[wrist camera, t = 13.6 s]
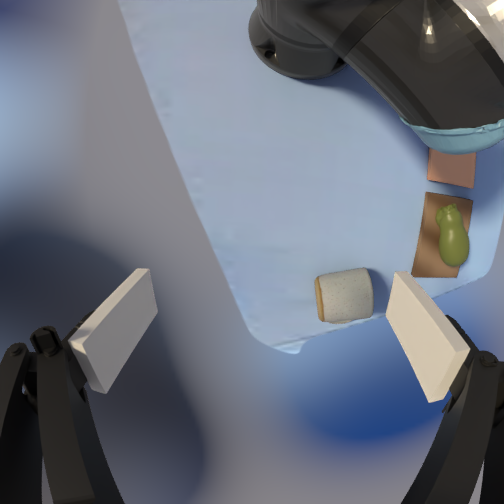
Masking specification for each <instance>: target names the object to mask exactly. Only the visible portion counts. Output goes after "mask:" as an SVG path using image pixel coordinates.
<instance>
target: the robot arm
mask: <svg viewBox="0 0 504 504" xmlns="http://www.w3.org/2000/svg"><path fill="white" fill-rule="evenodd" d="M248 29H249V37H250V41H251V45H252V47H253V49H254V51H255V53H256V54H257V56H258V57H259V58H260V59H261V60H262V61H263V62H264V63H265V64H266V65H267V66H268V67H270V68H271V69H273V70H275V71H276V72H278V73H280V74H283V75H286V76H289V77H292V78H297V79H306V80H313V79H321V78H325V77H328V76H331V75H333V74H335V73H337V72H339V71H340V70H342V69H343V68H344V67H345V66H346V65H347V64H349V65H350V66H351V67H352V68H353V69H354V70H355V71H356V72H357V73H358V74H360V75H361V76H362V77H363V78H364V79H365V80H366V81H367V82H368V83H369V84H370V85H371V86H372V87H373V88H374V89H375V90H376V91H377V92H378V93H379V94H380V95H381V96H382V97H383V98H384V99H385V100H386V101H387V102H388V104H389V105H390V106H391V107H392V108H393V109H394V110H395V111H396V112H397V113H398V115H399V118H400V119H401V120H402V122H403V123H405V124H406V125H407V126H409V127H411V129H412V130H413V131H414V132H415V133H416V134H417V135H418V136H419V138H420V139H421V140H422V141H423V142H424V143H425V144H426V145H427V146H428V147H430V148H431V149H434V150H437V151H439V152H441V153H444V154H451V155H463V154H470V153H474V152H478V151H482V150H484V149H487V148H489V147H492V146H493V145H495V144H497V143H499V142H500V141H501V140H503V139H504V0H257V7H256V8H255V10H254V11H253V13H252V15H251V18H250V21H249V28H248ZM157 312H158V310H157V306H156V301H155V296H154V291H153V286H152V281H151V276H150V270H149V269H136V270H135V271H134V272H133V273H132V274H131V275H130V276H129V277H128V278H127V279H126V280H125V281H124V282H123V283H122V284H121V285H120V286H119V287H118V288H117V289H116V290H115V291H114V292H113V293H112V294H111V295H110V296H109V297H108V298H107V299H106V300H105V301H104V302H103V303H102V304H101V305H100V306H99V307H98V308H97V310H93V311H92V312H90V313H88V314H87V315H85V316H84V318H83V319H82V320H81V321H80V323H78V324H77V325H76V326H75V328H73V329H72V330H71V331H70V332H69V333H68V335H67V336H66V337H65V338H64V339H63V340H62V341H61V340H60V338H59V336H58V334H57V331H56V329H55V328H54V327H52V326H44V327H41V328H38V329H37V330H36V331H34V332H33V333H32V334H31V336H30V341H31V343H32V345H33V347H34V349H35V351H36V352H29V350H28V348H27V346H26V344H24V343H20V342H19V343H15V344H13V345H11V346H10V347H9V348H8V349H7V351H6V352H5V354H4V357H3V359H2V361H1V363H0V504H42V488H41V487H42V458H44V464H45V469H46V473H47V478H48V483H49V487H50V491H51V495H52V499H53V503H54V504H125V503H124V501H123V499H122V497H121V495H120V493H119V490H118V488H117V486H116V483H115V481H114V478H113V476H112V474H111V471H110V468H109V466H108V463H107V460H106V458H105V455H104V452H103V449H102V446H101V444H100V440H99V437H98V434H97V430H96V427H95V424H94V420H93V417H92V413H91V409H90V405H89V401H88V396H87V392H86V390H85V388H84V385H85V383H86V382H87V381H88V383H89V384H90V386H91V388H92V390H95V391H98V392H101V393H105V394H106V393H107V392H108V390H109V388H110V387H111V385H112V383H113V382H114V380H115V378H116V377H117V375H118V374H119V372H120V370H121V368H122V367H123V365H124V364H125V362H126V361H127V359H128V357H129V356H130V354H131V353H132V351H133V349H134V348H135V346H136V345H137V343H138V342H139V340H140V338H141V337H142V335H143V334H144V332H145V331H146V329H147V328H148V326H149V325H150V323H151V321H152V320H153V318H154V317H155V315H156V314H157ZM386 317H387V319H388V321H389V323H390V325H391V326H392V328H393V330H394V332H395V334H396V336H397V338H398V339H399V342H400V343H401V345H402V347H403V349H404V351H405V353H406V355H407V357H408V359H409V361H410V363H411V365H412V367H413V369H414V372H415V374H416V375H417V378H418V380H419V382H420V384H421V386H422V388H423V391H424V393H425V395H426V397H427V400H428V402H433V401H437V400H441V399H443V398H444V397H445V395H446V393H447V391H448V390H450V392H451V394H452V396H451V398H450V400H449V401H448V403H447V404H446V406H445V407H444V409H443V410H442V413H443V412H444V411H445V413H444V416H443V419H442V422H441V424H440V427H439V430H438V432H437V434H436V437H435V440H434V441H433V444H432V446H431V448H430V451H429V453H428V455H427V457H426V459H425V461H424V463H423V465H422V467H421V469H420V471H419V473H418V475H417V477H416V479H415V480H414V482H413V484H412V486H411V487H410V489H409V491H408V492H407V494H406V496H405V497H404V499H403V501H402V502H401V504H468V503H469V501H470V498H471V496H472V493H473V491H474V488H475V485H476V483H477V480H478V477H479V474H480V471H481V467H482V464H483V461H484V470H483V481H482V488H481V495H480V501H479V504H504V362H500V361H498V359H497V357H496V356H495V355H493V354H492V353H490V352H488V351H479V350H478V348H477V347H476V346H475V344H474V343H473V342H472V340H471V339H470V338H469V336H468V335H467V334H465V331H464V330H463V329H461V326H460V325H459V324H458V323H457V321H456V320H454V319H453V318H452V317H450V316H449V315H444V314H443V312H442V311H441V310H440V309H439V308H438V306H437V305H436V304H435V303H434V302H433V300H432V299H431V298H430V297H429V296H428V294H427V293H426V292H425V291H424V290H423V289H422V288H421V286H420V285H419V284H418V283H417V282H416V281H415V280H414V278H413V277H412V276H411V275H410V274H409V273H408V272H407V271H401V272H395V275H394V280H393V285H392V289H391V294H390V298H389V303H388V307H387V311H386ZM22 386H23V387H24V389H25V392H24V394H23V393H22Z"/></svg>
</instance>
